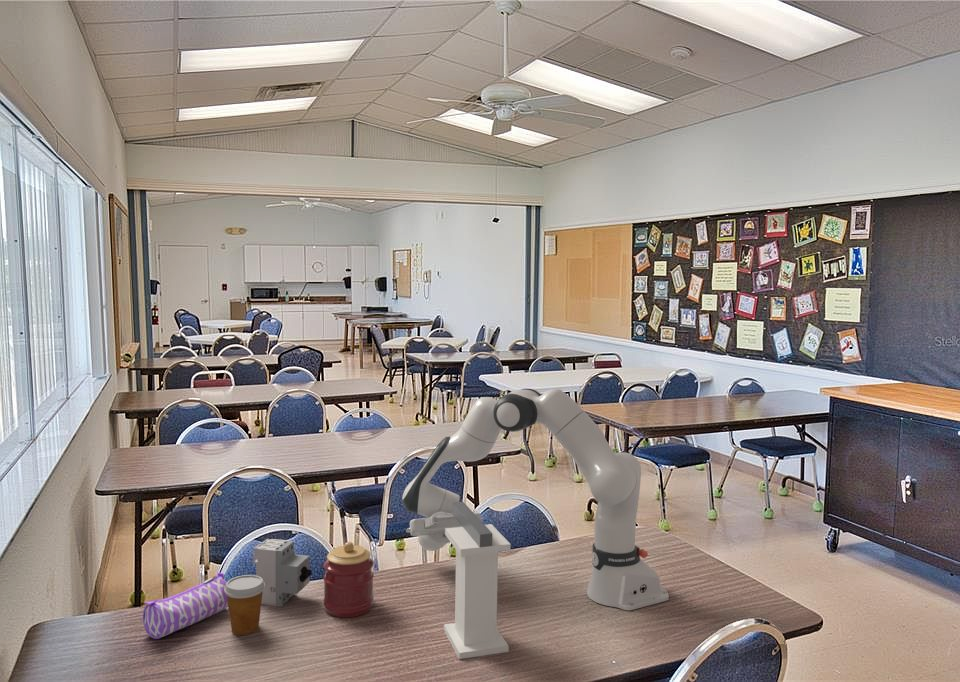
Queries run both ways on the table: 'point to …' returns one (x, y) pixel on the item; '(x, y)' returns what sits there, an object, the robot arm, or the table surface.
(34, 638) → the table surface
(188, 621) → the pencil case
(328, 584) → the canister
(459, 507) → the bar
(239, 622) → the disposable coffee cup
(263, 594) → the circuit breaker
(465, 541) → the stand
